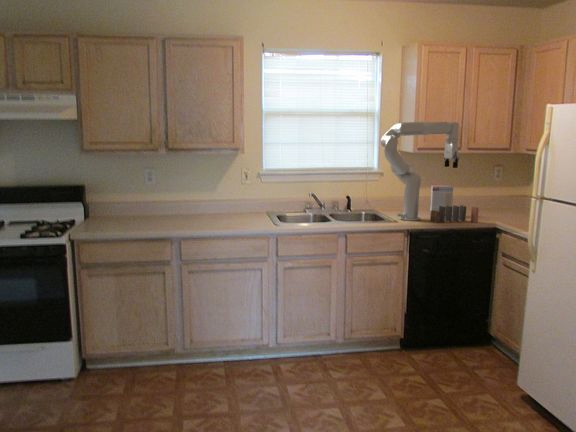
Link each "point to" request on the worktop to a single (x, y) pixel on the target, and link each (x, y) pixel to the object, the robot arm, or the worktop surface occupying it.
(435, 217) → the end block
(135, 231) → the worktop surface
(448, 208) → the domino
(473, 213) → the domino
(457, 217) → the domino
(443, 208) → the domino
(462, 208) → the domino
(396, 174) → the robot arm
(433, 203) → the cracker box
